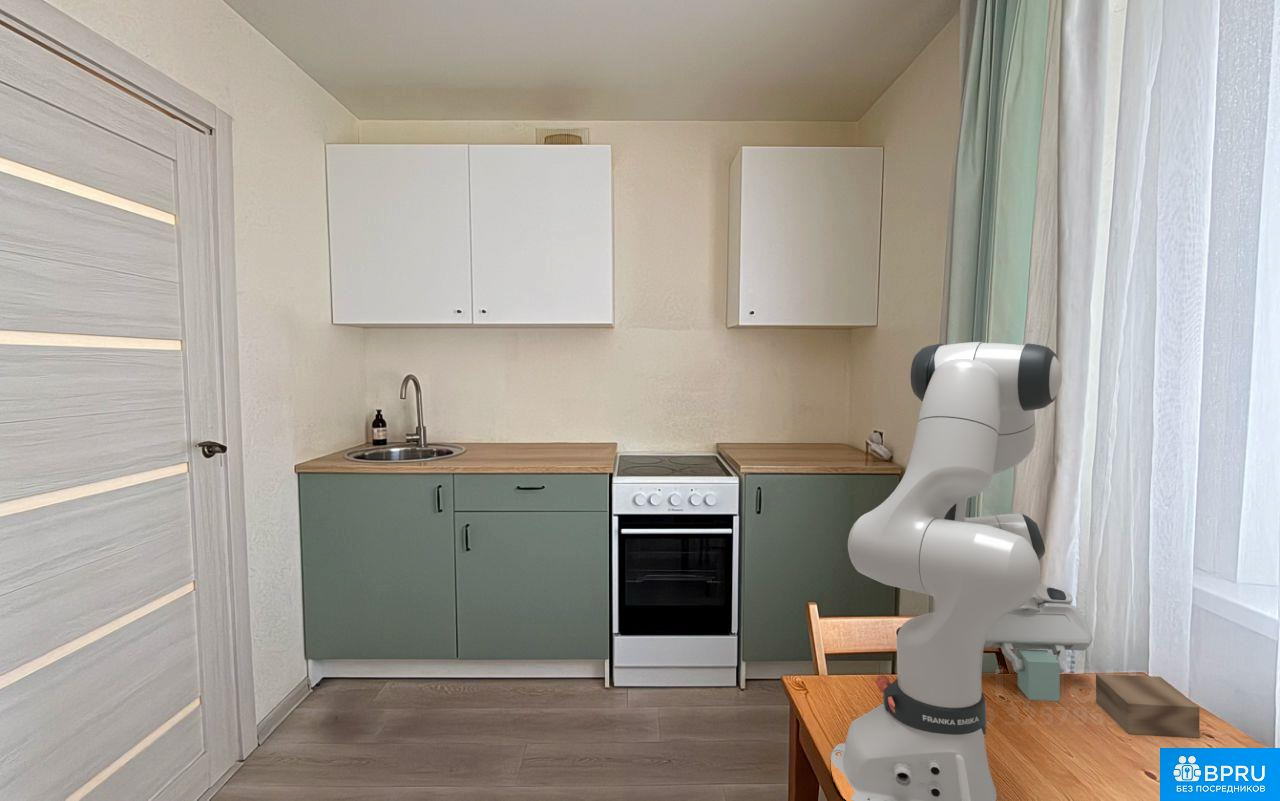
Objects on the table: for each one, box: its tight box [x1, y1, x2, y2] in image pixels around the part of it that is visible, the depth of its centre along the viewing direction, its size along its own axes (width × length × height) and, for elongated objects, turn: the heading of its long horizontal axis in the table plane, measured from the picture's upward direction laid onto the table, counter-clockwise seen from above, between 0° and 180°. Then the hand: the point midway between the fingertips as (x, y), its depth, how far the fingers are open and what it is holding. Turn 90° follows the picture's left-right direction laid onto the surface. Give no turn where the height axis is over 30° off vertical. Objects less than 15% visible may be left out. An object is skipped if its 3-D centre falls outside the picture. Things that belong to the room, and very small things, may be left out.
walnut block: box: [1095, 673, 1200, 738], centre depth 106 cm, size 10×10×5 cm
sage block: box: [1016, 648, 1061, 702], centre depth 116 cm, size 5×5×7 cm
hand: (1039, 671), depth 115 cm, fingers closed on sage block, 5 cm apart
